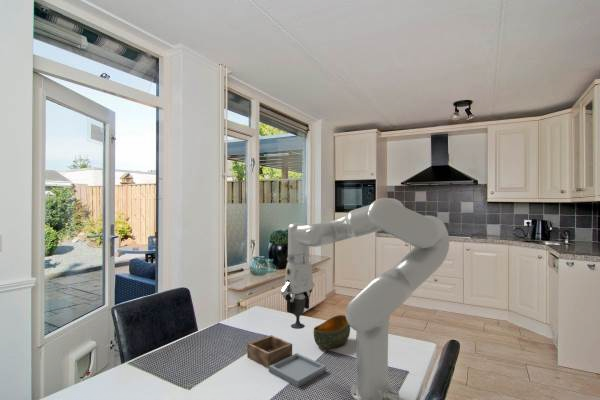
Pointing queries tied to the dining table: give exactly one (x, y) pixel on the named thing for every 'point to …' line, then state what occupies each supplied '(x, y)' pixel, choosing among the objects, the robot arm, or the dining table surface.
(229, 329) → the dining table surface
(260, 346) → the holder
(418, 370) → the dining table surface
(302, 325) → the sundae
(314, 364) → the tray
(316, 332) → the green bowl
